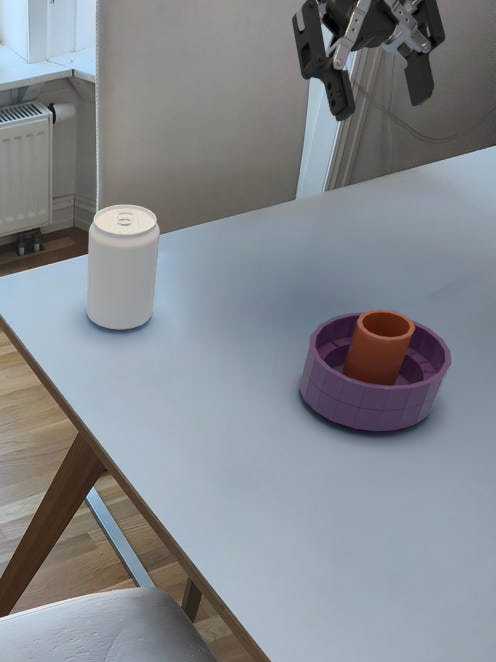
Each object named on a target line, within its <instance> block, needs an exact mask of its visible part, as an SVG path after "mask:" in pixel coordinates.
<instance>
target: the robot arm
mask: <svg viewBox="0 0 496 662" xmlns="http://www.w3.org/2000/svg"><path fill="white" fill-rule="evenodd" d="M291 23H292V28H293V34H294V41H295V46H296V52H297V59H298V64H299V69H300V75H301V77H302V78H303V80H306V81H309V80H311V79H312V78H313V79H317V80H319V81H320V83H322V84H323V85H324V90H325V94H326V98H327V99H326V100H327V104H328V108H329V111H330V113H331V115H332V116H333V117H334V118H335V121H336V122H343V121H347V120H348V119H349V118H350V117H351V116H352V115H354V113H355V112H356V107H357V106H356V100H355V96H354V94H353V87H352V84H351V79H350V74H349V70H348V69H344V68H345V66H346V63H347V60H348V58H349V55H350V53H353V52H358V51H360V50H362V49H364V48H367V49H375V48H379V47H381V48H382V49H383V50H384V51H385V52H386V53H387V54H394V55H395V56H396V57H397V58H398V59H399V60H400V62H401V63H402V64H403V65H404V66H405V68H404V69H403V72H404V76H405V80H406V86H407V91H408V95H409V100H410V104H411V106H412V107H418V106H422V105H423V104H424V103H426V102H427V101H428V100H429V99H430V98H431V97H432V96H433V92H434V89H435V81H434V75H433V72H432V66H431V62H430V54H431V53H432V52H433V51H434V50H436V48H438V47H439V46H440V45H442V44H443V43H444V42H445V40H446V33H445V29H444V25H443V21H442V17H441V14H440V10H439V5H438V1H437V0H305V2H303V4H302V5H301V6H300V8H298V9H297V11H296V12H295V13H294V15H292V18H291ZM322 25H323V26H324V27H325V28H326V29H327V30H328V31H329V32H330V33H331V34H332V35H331V37H330V39H329V42H328V44H327V47H325V41H324V35H323V27H322ZM397 27H399V28H400V31H399V32H398V33H397V34H396V35H395V34H394V33H395V30H396V28H397ZM406 42H407V43H408V44H409V45H410V46H411V47H412V48H411V47H410V46H409V45H408V44H407V43H406Z"/></svg>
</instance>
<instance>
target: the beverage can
mask: <svg viewBox="0 0 496 662" xmlns="http://www.w3.org/2000/svg"><path fill="white" fill-rule="evenodd" d="M157 222H158V221H157V216H156V214H155V213H154V212H152V210H150V209H149V208H147V207H143V206H141V205H135V204H114V205H110V206H106V207H104V208H102V209H100V210H98V211H97V212H96V213H95V215H94V217H93V221H92V222H91V224H90V225H89V229H88V246H87V247H88V249H87V250H88V252H87V255H88V256H87V286H86V287H87V288H86V315H87V316H88V318H89V320H91V322H93V323H94V324H96V325H98V326H100V327H103V328H105V329H109V330H110V329H111V330H130V329H134V328H138V327H140V326H142V325H144V324H146V323H147V322H148V321H149V320H150V319H151V317H152V315H153V309H154V300H155V288H156V277H157V268H158V267H157V266H158V255H159V245H160V235H161V231H160V226H159V224H158V223H157Z"/></svg>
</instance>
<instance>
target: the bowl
mask: <svg viewBox="0 0 496 662" xmlns="http://www.w3.org/2000/svg"><path fill="white" fill-rule="evenodd" d="M366 312H367V311H365V312H364V311H363V312H348V313H344V314H341V315H337V316H333V317H331V318H329V319H327V320H325V321H323V322H321V323H320V324H318V325H317V326H316V328H315V329H314V330H313V332H312V333H311V334H310V337H309V341H308V345H307V349H306V352H305V357H304V361H303V365H302V368H301V372H300V377H299V385H298V389H299V391H300V394H301V395H302V398H303V401H304V402H305V403H306V404H307V405H308V406H309V407H310V408H311V409H312V410H313V411H314V412H315V413H317V414H319V415H321V416H322V417H324V418H326V419H327V420H329V421H331V422H333V423H336V424H339V425H343V426H345V427H348V428H352V429H356V430H363V431H370V432H388V431H398V430H401V429H405V428H408V427H409V428H410V427H412V426H415V425H416V424H419V423H421V422H422V421H423V420H424V419H426V418H427V417H428V416H429V415H430V413H431V412H432V410H433V408H434V407H435V405H436V402H437V401H438V398H439V395H440V392H441V390H442V387H443V385H444V382H445V380H446V378H447V375H448V372H449V370H450V367H451V365H452V353H451V349H450V348H449V346H448V345H447V343H446V342H445V340H444V339H443V338H442V336H440V335H439V334H438V333H436V332H435V331H433V330H432V329H431V328H430V327H428V326H426V325H424V324H422V323H419V322H417V321H415V320H413V319H411V320H412V322H413V324H414V326H415V330H414V333H413V336H412V339H411V342H410V345H409V348H408V350H407V353H406V356H405V359H404V362H403V365H402V367H401V370H400V373H399V376H398V379H397V382H396V385H395V386H386V385H378V384H370V383H365V382H362V381H359V380H356V379H352V378H349V377H347V376H345V375H343V374H342V371H343V367H344V364H345V360H346V357H347V354H348V350H349V347H350V343H351V340H352V336H353V333H354V330H355V326H356V323H357V320H358V318H359V317H360V315H361V314H364V313H366Z"/></svg>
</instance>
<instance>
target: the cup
mask: <svg viewBox="0 0 496 662" xmlns="http://www.w3.org/2000/svg"><path fill="white" fill-rule="evenodd" d="M365 312H366V313H364V314H361V315H360V317H359V318H358V320H357V323H356V326H355V330H354V333H353V336H352V340H351V343H350V347H349V350H348V354H347V357H346V360H345V364H344V367H343V371H342V374H343V375H345V376H347V377H349V378H352V379H356V380H359V381H362V382H365V383H370V384H378V385H386V386H395V385H396V382H397V379H398V376H399V373H400V370H401V367H402V365H403V362H404V359H405V356H406V353H407V350H408V348H409V345H410V342H411V339H412V336H413V333H414V330H415V326H414V324H413V322H412V320H413V319H410V318H409V317H408V316H407V315H405V314H403V313H400V312H397V311H395V310H388V309H373V310H368V311H365Z"/></svg>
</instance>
